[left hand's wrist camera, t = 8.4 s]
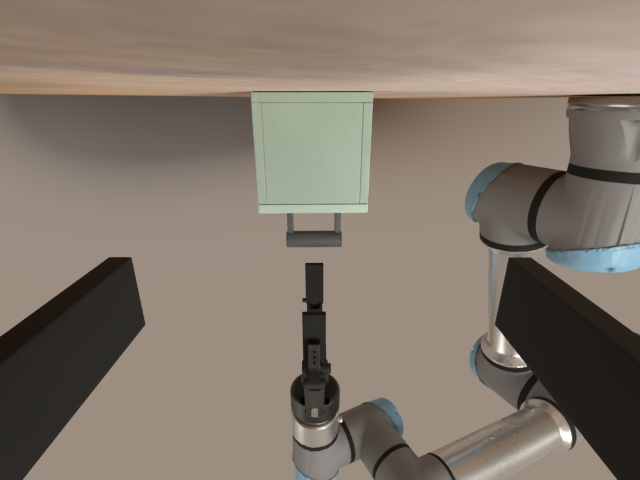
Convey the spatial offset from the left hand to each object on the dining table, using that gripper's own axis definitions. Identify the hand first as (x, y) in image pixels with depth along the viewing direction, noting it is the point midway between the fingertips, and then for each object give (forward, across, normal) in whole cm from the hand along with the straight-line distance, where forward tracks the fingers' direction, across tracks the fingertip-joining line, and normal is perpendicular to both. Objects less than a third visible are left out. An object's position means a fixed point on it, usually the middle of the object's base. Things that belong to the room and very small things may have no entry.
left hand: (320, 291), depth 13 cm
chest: (+27, +1, -7) cm, 28 cm away
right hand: (+31, +1, +16) cm, 35 cm away
